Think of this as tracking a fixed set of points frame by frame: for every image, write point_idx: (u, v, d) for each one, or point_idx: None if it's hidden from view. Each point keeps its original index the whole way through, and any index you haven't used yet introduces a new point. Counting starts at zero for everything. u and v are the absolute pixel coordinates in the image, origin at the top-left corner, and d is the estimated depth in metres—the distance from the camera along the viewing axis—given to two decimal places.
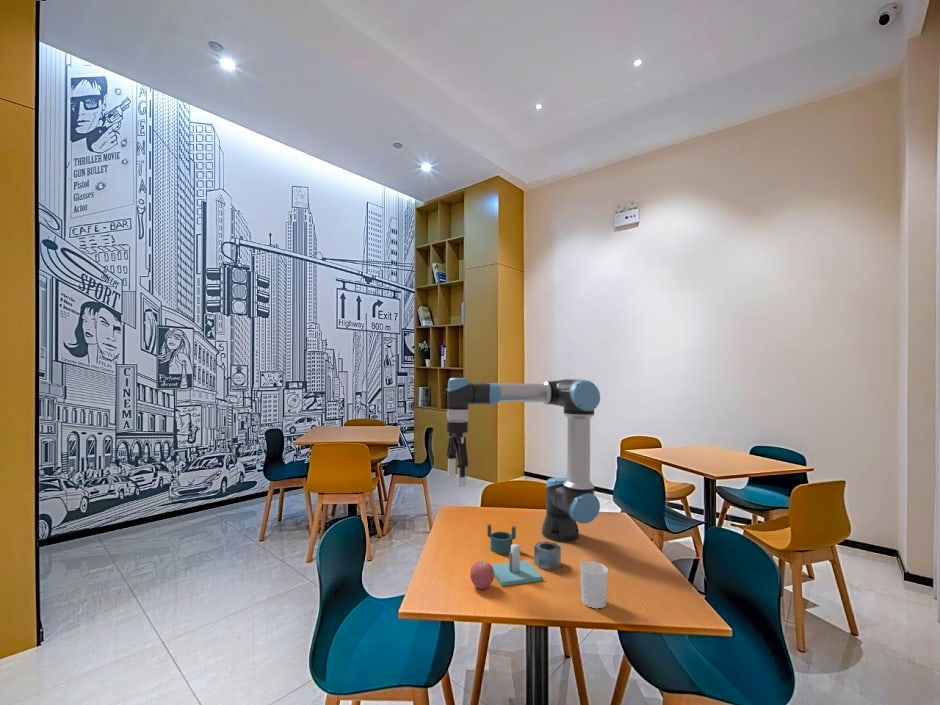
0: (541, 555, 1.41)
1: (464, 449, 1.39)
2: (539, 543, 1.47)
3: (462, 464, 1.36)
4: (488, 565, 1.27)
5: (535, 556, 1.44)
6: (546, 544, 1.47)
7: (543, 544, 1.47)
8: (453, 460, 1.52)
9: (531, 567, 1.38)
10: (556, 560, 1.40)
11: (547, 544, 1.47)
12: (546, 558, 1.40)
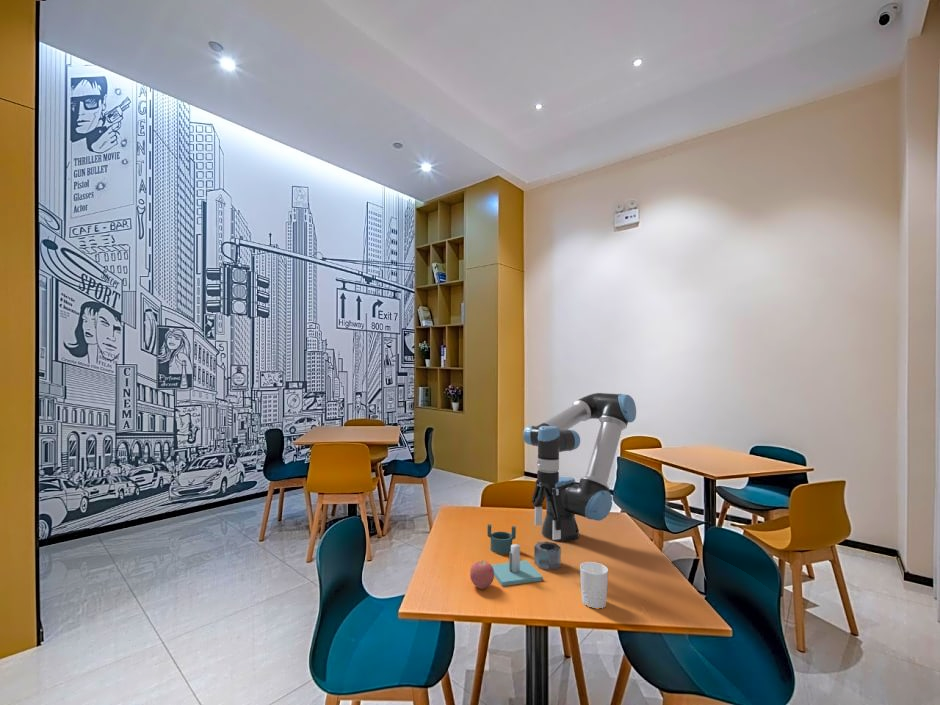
0: (541, 555, 1.41)
1: (560, 501, 1.38)
2: (539, 543, 1.47)
3: (559, 518, 1.35)
4: (488, 565, 1.27)
5: (535, 556, 1.44)
6: (546, 544, 1.47)
7: (543, 544, 1.47)
8: (540, 508, 1.51)
9: (531, 567, 1.38)
10: (556, 560, 1.40)
11: (547, 544, 1.47)
12: (546, 558, 1.40)
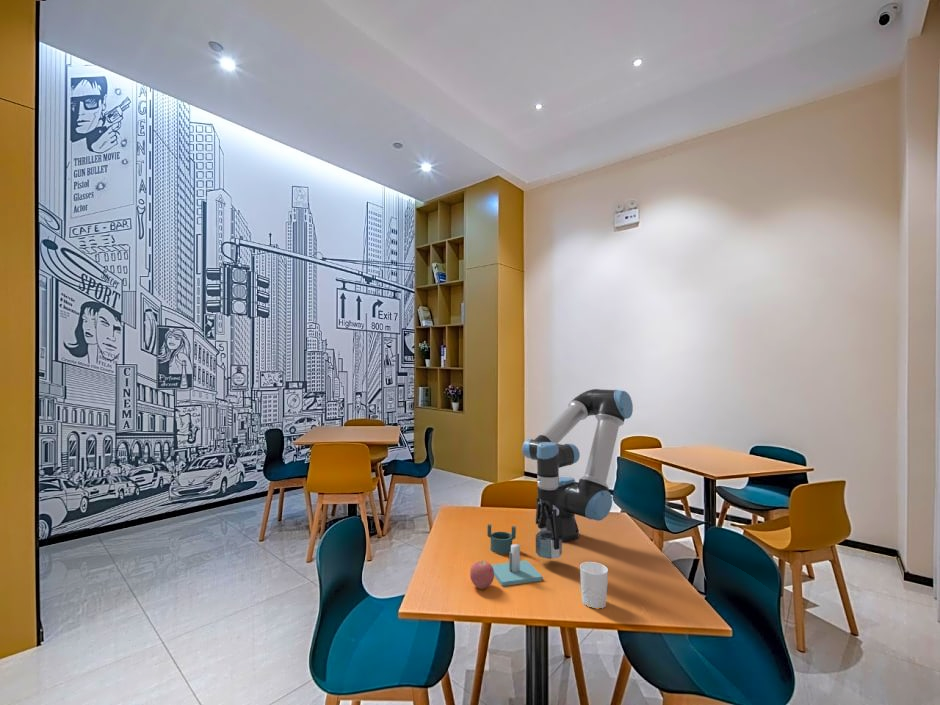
0: (542, 544, 1.41)
1: (559, 522, 1.38)
2: (540, 532, 1.47)
3: (557, 538, 1.37)
4: (488, 565, 1.27)
5: (536, 545, 1.44)
6: (547, 533, 1.47)
7: (544, 533, 1.47)
8: (544, 530, 1.49)
9: (531, 567, 1.38)
10: None
11: (548, 533, 1.47)
12: (547, 547, 1.40)
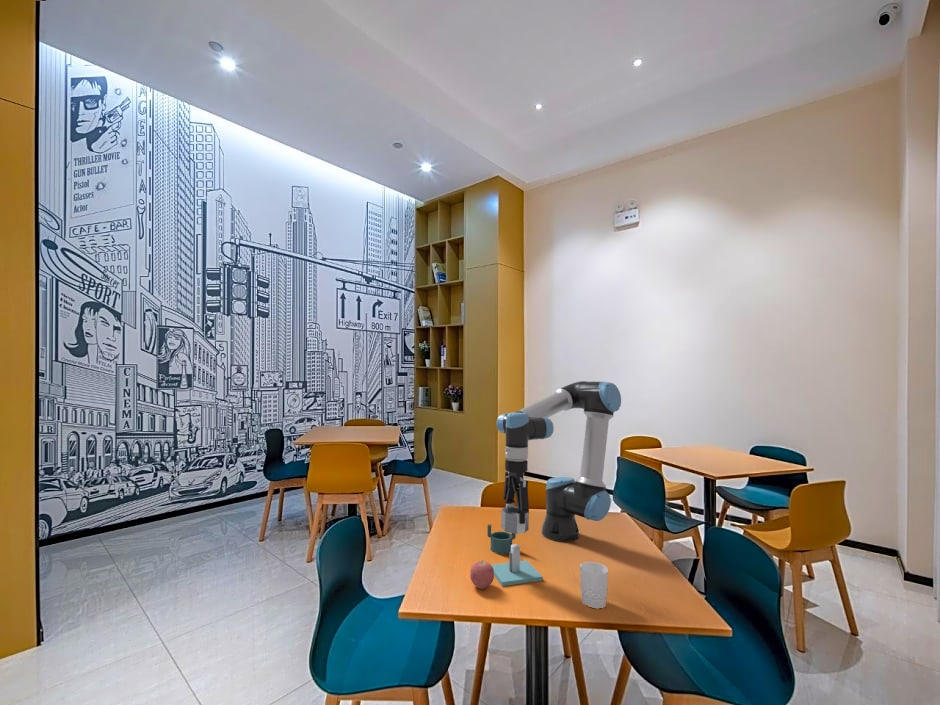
0: (507, 518, 1.33)
1: (525, 494, 1.31)
2: (507, 507, 1.39)
3: (523, 511, 1.29)
4: (488, 565, 1.27)
5: (502, 520, 1.36)
6: (514, 508, 1.40)
7: (511, 508, 1.39)
8: (512, 505, 1.41)
9: (531, 567, 1.38)
10: None
11: (515, 508, 1.40)
12: (512, 521, 1.33)
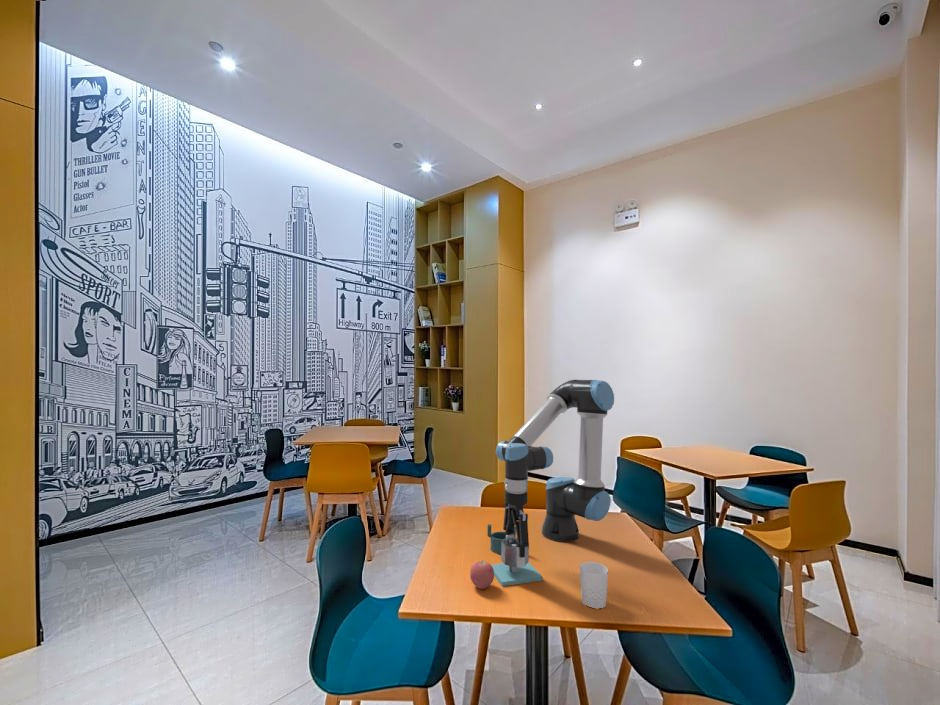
0: (507, 551, 1.33)
1: (525, 528, 1.30)
2: (507, 539, 1.39)
3: (523, 545, 1.29)
4: (488, 565, 1.27)
5: (502, 552, 1.36)
6: (514, 540, 1.39)
7: (511, 540, 1.39)
8: (511, 536, 1.41)
9: (531, 567, 1.38)
10: None
11: (515, 540, 1.39)
12: (512, 554, 1.32)
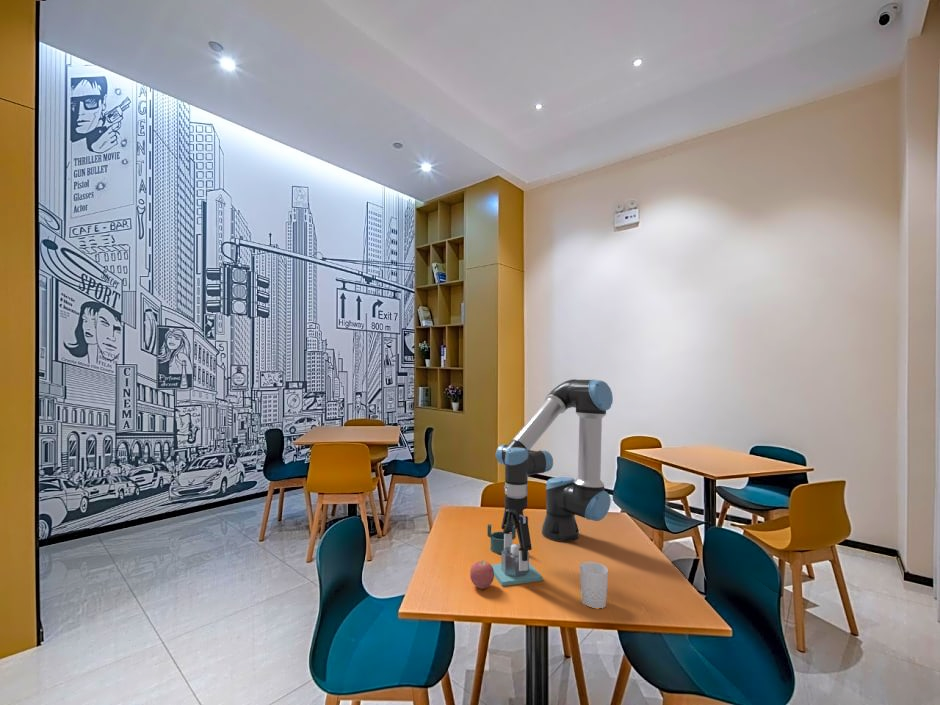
0: (508, 561, 1.33)
1: (526, 530, 1.30)
2: (507, 548, 1.39)
3: (525, 548, 1.27)
4: (488, 565, 1.27)
5: (502, 562, 1.36)
6: None
7: None
8: (509, 535, 1.42)
9: (531, 567, 1.38)
10: None
11: None
12: (513, 564, 1.32)
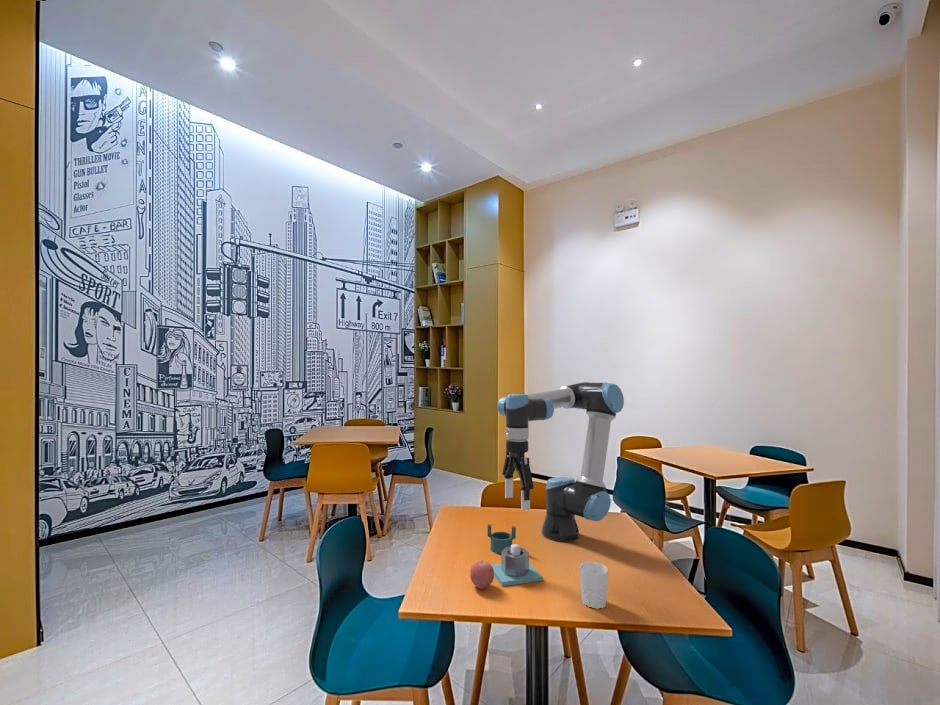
0: (508, 561, 1.33)
1: (528, 471, 1.31)
2: (507, 548, 1.39)
3: (527, 487, 1.29)
4: (488, 565, 1.27)
5: (502, 562, 1.36)
6: None
7: None
8: (510, 480, 1.45)
9: (531, 567, 1.38)
10: (523, 567, 1.32)
11: None
12: (513, 564, 1.32)
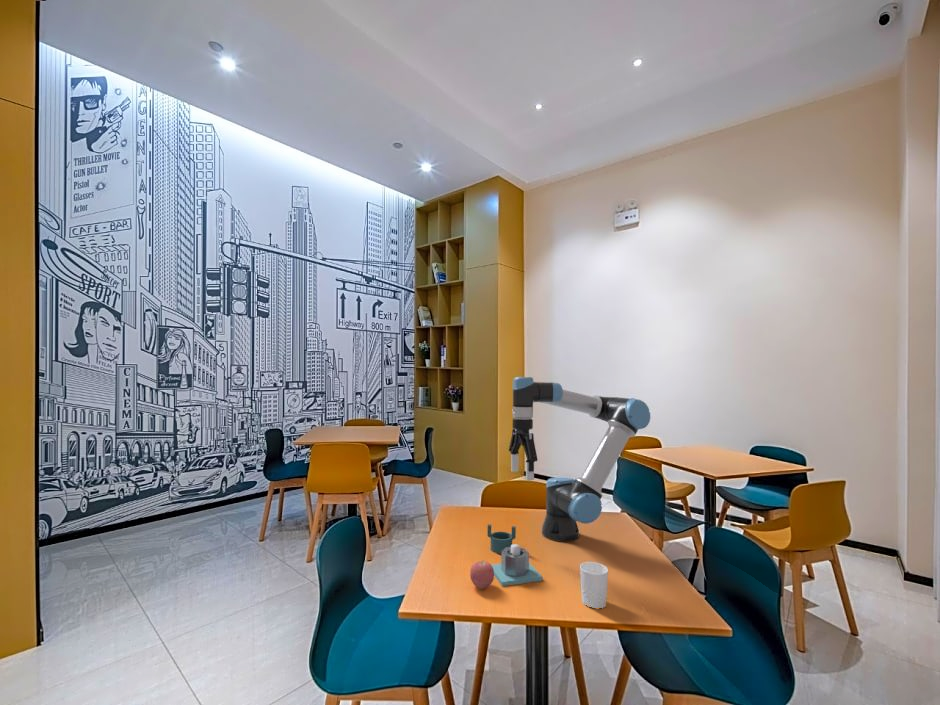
0: (508, 561, 1.33)
1: (532, 445, 1.46)
2: (507, 548, 1.39)
3: (532, 459, 1.43)
4: (488, 565, 1.27)
5: (502, 562, 1.36)
6: None
7: None
8: (516, 456, 1.59)
9: (531, 567, 1.38)
10: (523, 567, 1.32)
11: None
12: (513, 564, 1.32)
